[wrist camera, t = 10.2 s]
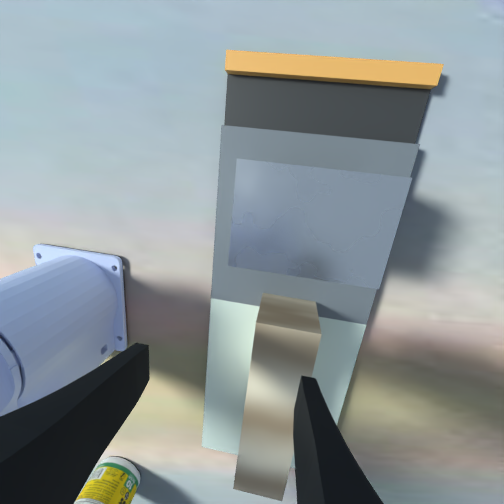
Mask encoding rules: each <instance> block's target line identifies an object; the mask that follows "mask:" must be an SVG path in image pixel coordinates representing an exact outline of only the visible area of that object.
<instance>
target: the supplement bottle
mask: <svg viewBox="0 0 504 504" xmlns="http://www.w3.org/2000/svg"><path fill="white" fill-rule="evenodd" d="M140 479H141V478H140V473H139V471H138V470H137V468H136V467H135V466H134V465H133V464H132V463H131V462H129V461H128V460H126V459H123V458H120V457H108V458H106V459H104V460H103V461H101V463H100V464H99V465H98V467H97V468H96V470H95V471H94V473H93V474H92V476H91V477H90V479H89V481H88V482H87V484H86V485H85V487H84V488H83V490H82V492H81V493H80V495H79V496H78V498H77V499H76V501H75V502H74V504H130V503H131V501H132V499H133V497H134V495H135V493H136V491H137V488H138V486H139V484H140Z"/></svg>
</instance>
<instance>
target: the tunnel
mask: <svg viewBox="0 0 504 504" xmlns="http://www.w3.org/2000/svg"><path fill="white" fill-rule="evenodd" d="M411 181H412V178H409V177H400V176H391V175H382V174H373V173H364V172H355V171H346V170H337V169H328V168H319V167H310V166H301V165H291V164H282V163H273V162H264V161H255V160H246V159H237V162H236V174H235V186H234V198H233V210H232V223H231V235H230V247H229V259H228V266H232V267H239V268H245V269H252V270H258V271H264V272H271V273H277V274H284V275H290V276H296V277H303V278H309V279H316V280H322V281H328V282H335V283H341V284H348V285H354V286H360V287H367V288H373V289H379V288H380V285H381V281H382V278H383V275H384V271H385V268H386V265H387V261H388V258H389V255H390V251H391V248H392V245H393V241H394V238H395V235H396V231H397V228H398V225H399V221H400V218H401V215H402V211H403V208H404V205H405V201H406V198H407V194H408V191H409V188H410V184H411Z"/></svg>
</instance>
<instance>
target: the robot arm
mask: <svg viewBox="0 0 504 504" xmlns="http://www.w3.org/2000/svg"><path fill="white" fill-rule="evenodd" d="M33 251H34V256H35V262H36V266H33V267H30V268H28V269H25V270H22V271H20V272H17V273H14V274H12V275H9V276H6V277H4V278H1V279H0V504H74V502H75V500H76V498H77V497H78V495H79V493H80V491H81V489H82V488H83V486H84V484H85V482H86V481H87V479H88V477H89V475H90V474H91V472H92V470H93V468H94V467H95V465H96V463H97V462H98V460H99V459H100V457H101V455H102V454H103V452H104V451H105V449H106V448H107V446H108V445H109V443H110V442H111V440H112V439H113V438H114V436H115V435H116V433H117V432H118V430H119V429H120V427H121V426H122V424H123V423H124V421H125V420H126V418H127V417H128V415H129V414H130V412H131V411H132V409H133V408H134V406H135V405H136V403H137V402H138V400H139V398H140V397H141V395H142V393H143V391H144V389H145V387H146V385H147V383H148V381H149V346H148V345H144V344H139V343H136V344H134V345H132V346H131V347H129V348H127V331H126V315H125V299H124V283H123V267H122V260H121V258H120V257H118V256H114V255H108V254H102V253H96V252H89V251H83V250H77V249H71V248H64V247H58V246H52V245H46V244H37V245H35V246H34V247H33ZM115 266H116V267H117V269H116V268H115ZM120 336H121V337H122V338H121V337H120ZM126 348H127V349H126ZM125 349H126V350H125ZM114 350H117V351H123V352H121V353H120V354H118V355H116V356H115V357H113V358H112V359H110V360H108V361H107V362H105V363H104V364H102V363H103V362H104V360H105V359H106V358H107V357H108V356H109V355H110V354H111V353H112V352H113V351H114ZM101 364H102V365H101ZM293 443H294V458H295V473H296V489H297V504H384V503H383V502H382V501H381V499H380V498H379V496H378V495H377V493H376V492H375V490H374V489H373V487H372V486H371V484H370V483H369V481H368V480H367V478H366V476H365V475H364V473H363V472H362V470H361V468H360V467H359V465H358V464H357V462H356V460H355V458H354V457H353V455H352V453H351V452H350V450H349V448H348V446H347V444H346V442H345V441H344V439H343V437H342V435H341V433H340V431H339V429H338V427H337V425H336V423H335V421H334V419H333V417H332V415H331V413H330V411H329V409H328V406H327V404H326V402H325V399H324V397H323V395H322V392H321V390H320V387H319V385H318V382H317V380H316V379H315V378H312V377H307V376H302V375H301V379H300V384H299V388H298V393H297V397H296V402H295V407H294V421H293Z"/></svg>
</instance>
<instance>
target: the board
mask: <svg viewBox="0 0 504 504" xmlns="http://www.w3.org/2000/svg"><path fill="white" fill-rule="evenodd" d="M443 65H444V64H435V63H419V62H404V61H389V60H373V59H358V58H343V57H328V56H312V55H297V54H282V53H267V52H251V51H236V50H226V62H225V71H226V72H227V74H228V78H227V94H226V109H225V125H222V127H221V144H220V160H219V176H218V192H217V209H216V225H215V241H214V257H213V274H212V290H211V306H210V322H209V339H208V355H207V371H206V387H205V404H204V420H203V436H202V447H206V448H210V449H214V450H218V451H223V452H227V453H231V454H235V455H238V451H239V444H240V436H241V429H242V422H243V414H244V407H245V399H246V392H247V385H248V377H249V370H250V363H251V355H252V348H253V340H254V333H255V326H256V320H257V316H258V311H259V307H260V303H261V298H262V294H263V293H267V294H273V295H279V296H285V297H291V298H297V299H303V300H309V301H315V302H316V306H317V312H318V317H319V322H320V328H321V333H322V335H321V340H320V344H319V348H318V352H317V356H316V361H315V365H314V369H313V373H312V378H315V379H316V380H317V382H318V385H319V387H320V390H321V392H322V395H323V397H324V399H325V402H326V404H327V406H328V409H329V411H330V413H331V415H332V417H333V419H334V421H335V423H336V425H337V423H338V419H339V416H340V413H341V409H342V406H343V403H344V399H345V396H346V392H347V389H348V386H349V382H350V379H351V375H352V372H353V369H354V365H355V362H356V359H357V355H358V352H359V348H360V345H361V342H362V338H363V335H364V332H365V328H366V325H367V321H368V318H369V315H370V311H371V308H372V305H373V301H374V298H375V294H376V291H377V289H373V288H367V287H360V286H354V285H348V284H341V283H335V282H328V281H322V280H316V279H309V278H303V277H296V276H290V275H284V274H277V273H271V272H264V271H258V270H252V269H245V268H239V267H232V266H228V259H229V247H230V235H231V223H232V210H233V198H234V186H235V174H236V162H237V159H246V160H255V161H264V162H273V163H282V164H291V165H301V166H310V167H319V168H328V169H337V170H346V171H355V172H364V173H373V174H382V175H391V176H400V177H409V178H410V176H411V173H412V169H413V166H414V163H415V159H416V156H417V153H418V149H419V146H420V144H415V142H416V138H417V135H418V132H419V128H420V125H421V121H422V118H423V114H424V111H425V107H426V104H427V101H428V97H429V94H430V90H431V89H432V88H434V87H436V86H437V85H438V82H439V78H440V75H441V71H442V68H443ZM290 467H291V468H295V458H294V453H293V457H292V461H291V466H290Z"/></svg>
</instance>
